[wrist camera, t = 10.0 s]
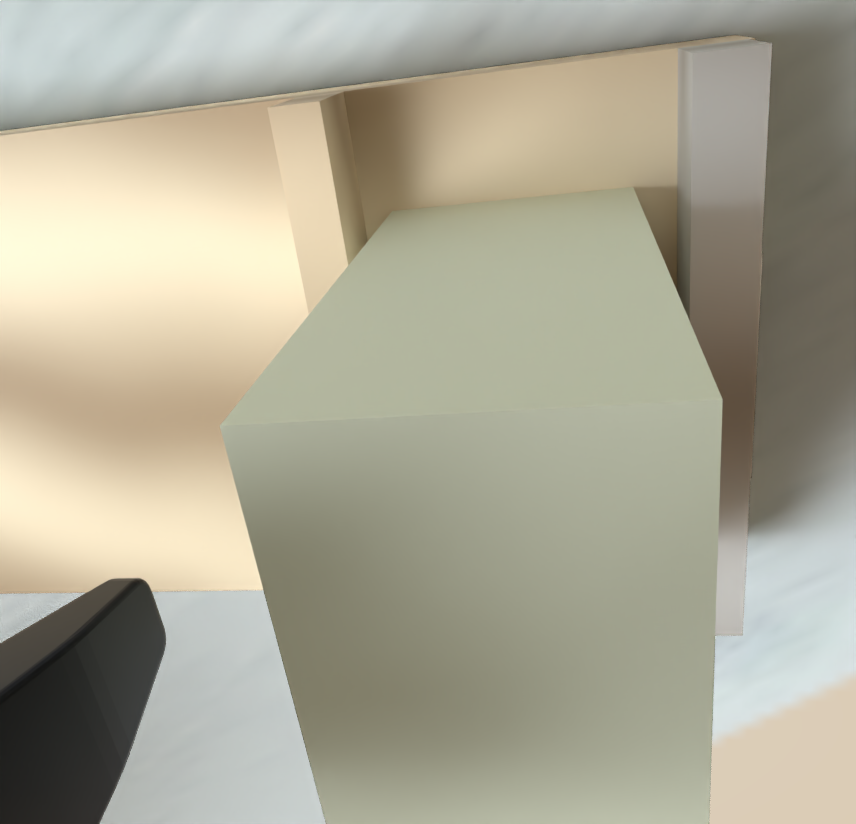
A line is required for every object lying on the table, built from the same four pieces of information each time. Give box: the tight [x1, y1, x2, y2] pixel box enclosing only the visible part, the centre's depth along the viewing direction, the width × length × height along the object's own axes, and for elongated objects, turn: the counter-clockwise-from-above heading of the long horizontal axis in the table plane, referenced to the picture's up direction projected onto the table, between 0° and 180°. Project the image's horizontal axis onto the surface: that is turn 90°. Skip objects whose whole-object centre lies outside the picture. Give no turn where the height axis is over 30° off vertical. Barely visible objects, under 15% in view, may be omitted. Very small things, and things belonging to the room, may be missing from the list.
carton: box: [220, 187, 723, 824], centre depth 11 cm, size 4×6×8 cm, turn 7°
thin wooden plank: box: [0, 35, 772, 636], centre depth 16 cm, size 10×20×3 cm, turn 97°
